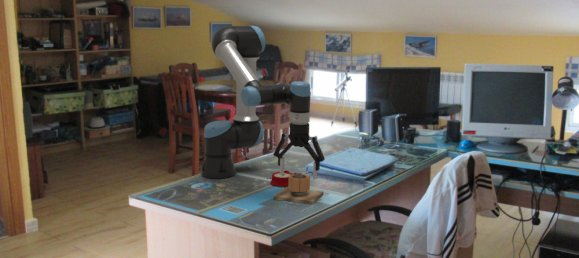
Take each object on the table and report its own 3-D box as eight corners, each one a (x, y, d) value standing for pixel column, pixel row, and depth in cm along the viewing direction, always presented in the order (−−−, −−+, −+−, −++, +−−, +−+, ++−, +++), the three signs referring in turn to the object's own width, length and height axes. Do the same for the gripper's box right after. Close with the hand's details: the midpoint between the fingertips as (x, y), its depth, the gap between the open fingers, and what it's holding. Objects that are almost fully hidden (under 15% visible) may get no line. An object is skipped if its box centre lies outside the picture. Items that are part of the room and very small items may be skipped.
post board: (273, 199, 222) (273, 176, 220) (285, 189, 233) (285, 167, 232) (312, 204, 216) (313, 180, 214) (323, 194, 228) (323, 171, 226)
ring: (286, 190, 222) (286, 178, 221) (293, 185, 229) (293, 172, 228) (305, 192, 219) (305, 180, 218) (311, 187, 226) (312, 175, 225)
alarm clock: (263, 176, 240) (285, 161, 250) (265, 189, 242) (287, 174, 253) (282, 181, 233) (304, 166, 244) (284, 194, 236) (306, 179, 246)
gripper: (265, 121, 220) (264, 174, 224) (328, 127, 211) (326, 183, 216) (273, 117, 227) (272, 169, 231) (333, 123, 218) (332, 177, 223)
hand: (298, 176), depth 223 cm, fingers open, 13 cm apart
